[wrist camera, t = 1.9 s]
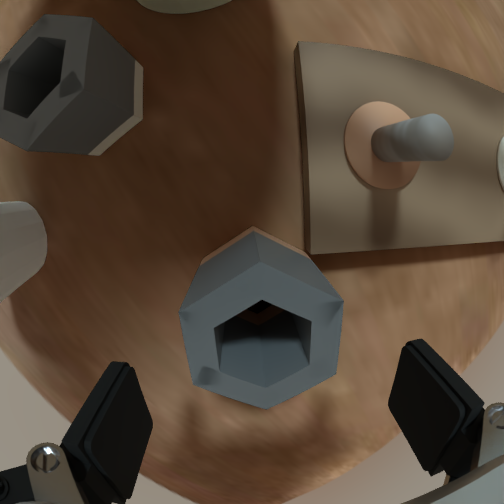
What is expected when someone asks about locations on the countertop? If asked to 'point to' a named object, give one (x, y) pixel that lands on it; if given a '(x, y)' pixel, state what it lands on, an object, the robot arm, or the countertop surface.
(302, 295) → the terracotta-banded sleeve
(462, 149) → the pin board
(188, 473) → the countertop surface
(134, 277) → the countertop surface
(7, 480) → the robot arm
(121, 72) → the cream-banded sleeve
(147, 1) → the reusable coffee cup
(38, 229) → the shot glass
